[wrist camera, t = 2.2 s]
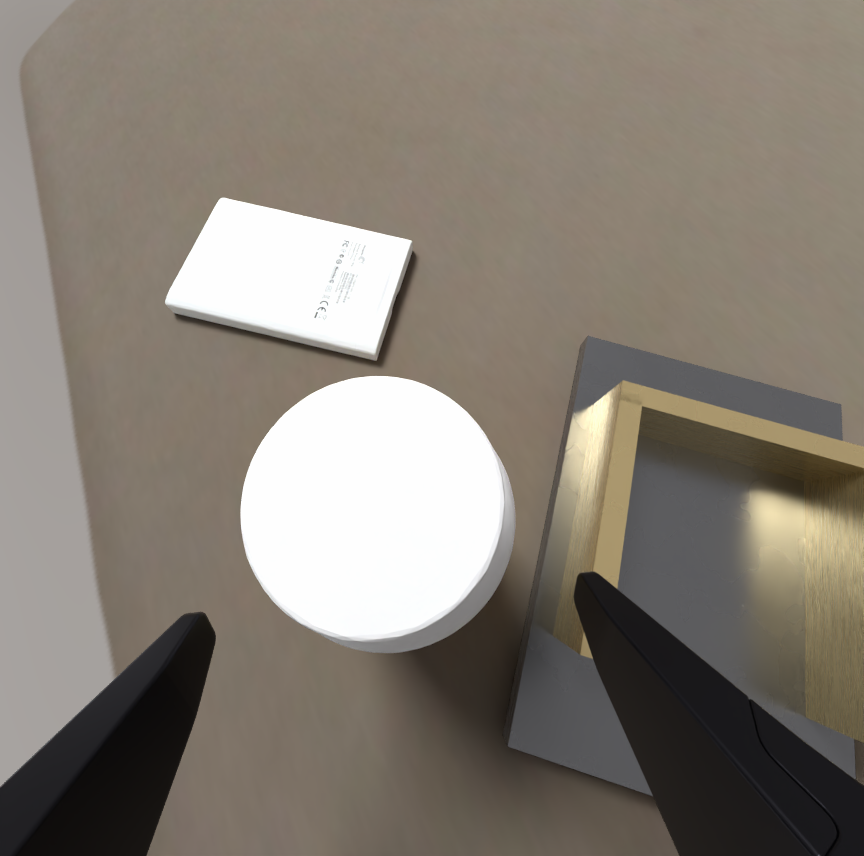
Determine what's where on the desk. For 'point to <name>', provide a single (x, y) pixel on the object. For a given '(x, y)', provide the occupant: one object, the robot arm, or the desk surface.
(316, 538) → the supplement bottle
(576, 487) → the wooden walled tray
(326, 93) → the desk surface
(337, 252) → the external hard drive
